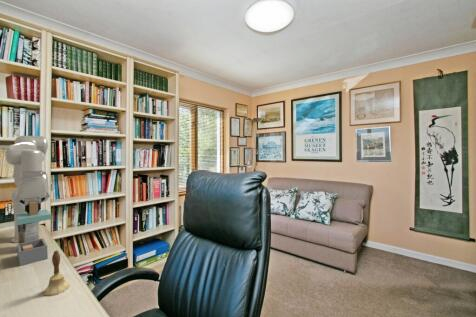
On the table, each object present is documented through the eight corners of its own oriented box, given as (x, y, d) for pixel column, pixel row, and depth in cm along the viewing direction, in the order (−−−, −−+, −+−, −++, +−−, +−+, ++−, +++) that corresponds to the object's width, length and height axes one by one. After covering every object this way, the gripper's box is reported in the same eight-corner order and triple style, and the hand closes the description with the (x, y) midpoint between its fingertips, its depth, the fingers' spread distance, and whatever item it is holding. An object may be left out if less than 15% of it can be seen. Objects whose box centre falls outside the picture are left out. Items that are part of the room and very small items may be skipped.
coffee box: (18, 248, 128) (17, 220, 128) (32, 244, 134) (31, 217, 133) (25, 252, 124) (24, 223, 124) (39, 247, 130) (38, 220, 129)
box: (17, 256, 118) (17, 243, 118) (43, 250, 126) (43, 238, 126) (19, 266, 109) (19, 252, 109) (47, 258, 117) (47, 245, 116)
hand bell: (74, 285, 94) (73, 248, 93) (52, 298, 86) (51, 257, 85) (61, 281, 97) (60, 245, 96) (38, 293, 89) (37, 253, 88)
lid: (15, 218, 112) (15, 201, 112) (46, 213, 120) (46, 198, 120) (17, 225, 101) (17, 206, 101) (51, 219, 110) (51, 201, 110)
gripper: (52, 173, 119) (53, 207, 119) (7, 175, 107) (9, 214, 107) (54, 174, 114) (55, 210, 114) (8, 176, 102) (10, 217, 102)
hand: (33, 211), depth 111 cm, fingers closed on lid, 3 cm apart
